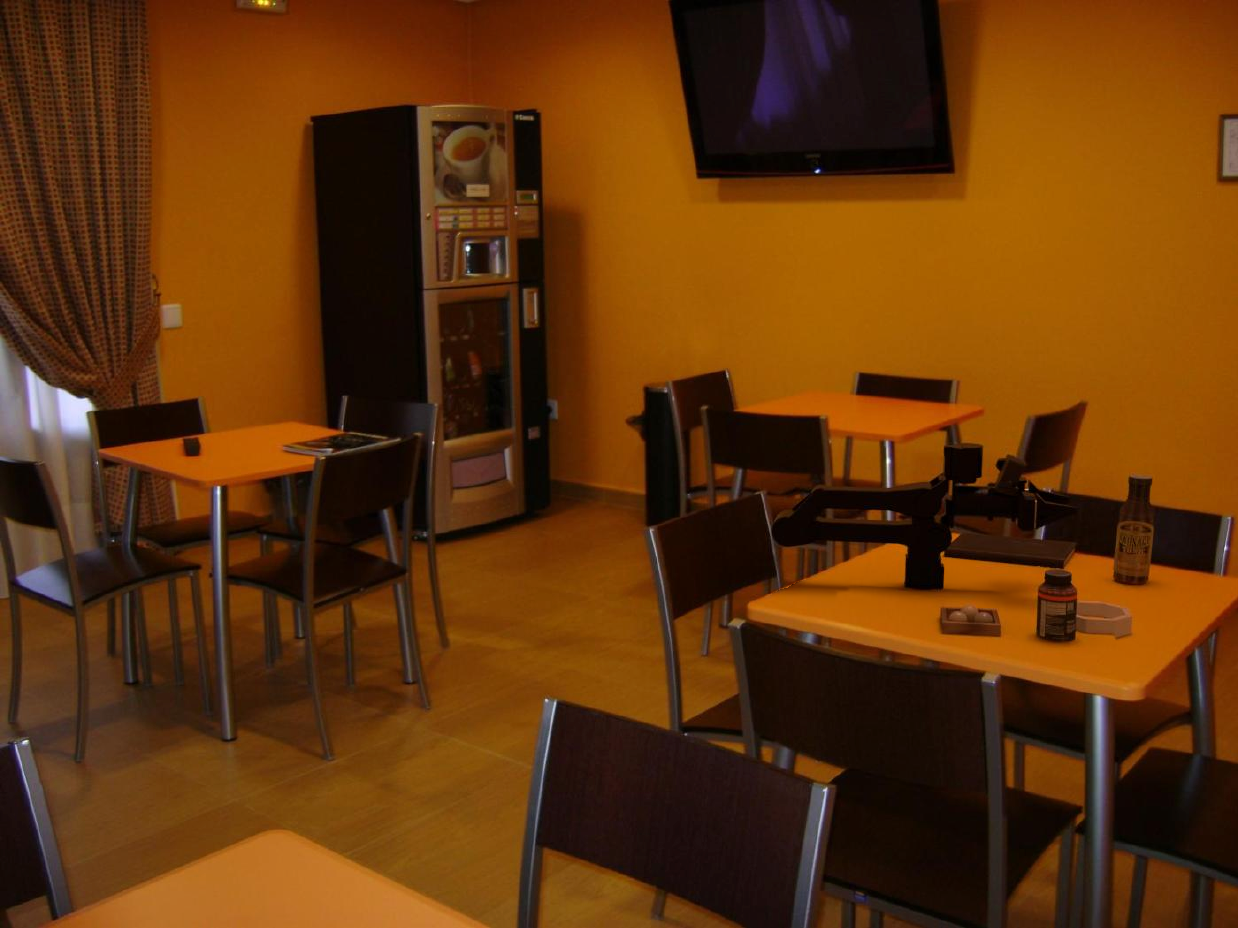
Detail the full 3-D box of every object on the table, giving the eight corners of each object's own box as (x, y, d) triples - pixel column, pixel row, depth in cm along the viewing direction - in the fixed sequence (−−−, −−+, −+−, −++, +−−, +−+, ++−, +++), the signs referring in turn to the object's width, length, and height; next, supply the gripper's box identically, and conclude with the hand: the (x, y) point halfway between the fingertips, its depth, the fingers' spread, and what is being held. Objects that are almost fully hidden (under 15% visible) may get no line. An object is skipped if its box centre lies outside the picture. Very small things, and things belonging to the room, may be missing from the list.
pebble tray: (942, 638, 204) (942, 622, 204) (940, 621, 213) (940, 606, 212) (1000, 640, 202) (1001, 625, 202) (996, 624, 211) (996, 609, 211)
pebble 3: (974, 632, 204) (974, 614, 204) (973, 627, 207) (973, 609, 207) (993, 633, 204) (994, 615, 203) (992, 627, 206) (992, 610, 206)
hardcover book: (962, 542, 270) (962, 532, 269) (1076, 553, 259) (1076, 542, 259) (943, 559, 256) (944, 548, 255) (1063, 571, 245) (1063, 560, 245)
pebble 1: (948, 631, 205) (949, 613, 204) (947, 626, 208) (948, 608, 207) (967, 632, 204) (968, 614, 204) (966, 627, 207) (967, 609, 207)
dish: (1064, 636, 204) (1065, 618, 204) (1056, 617, 214) (1057, 599, 214) (1134, 639, 202) (1135, 621, 202) (1123, 620, 212) (1124, 602, 212)
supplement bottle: (1042, 633, 206) (1045, 565, 204) (1080, 639, 203) (1083, 570, 201) (1030, 642, 201) (1033, 573, 199) (1068, 649, 198) (1072, 578, 196)
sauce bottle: (1112, 584, 234) (1118, 477, 231) (1113, 575, 240) (1118, 472, 236) (1150, 587, 232) (1157, 480, 228) (1150, 578, 238) (1157, 473, 234)
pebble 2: (960, 624, 208) (960, 607, 208) (959, 619, 211) (959, 602, 211) (979, 625, 208) (979, 608, 207) (977, 620, 211) (978, 602, 210)
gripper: (986, 466, 217) (1083, 469, 214) (979, 448, 235) (1068, 451, 232) (983, 530, 219) (1079, 534, 216) (977, 508, 237) (1065, 511, 233)
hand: (1073, 505), depth 224 cm, fingers open, 9 cm apart
